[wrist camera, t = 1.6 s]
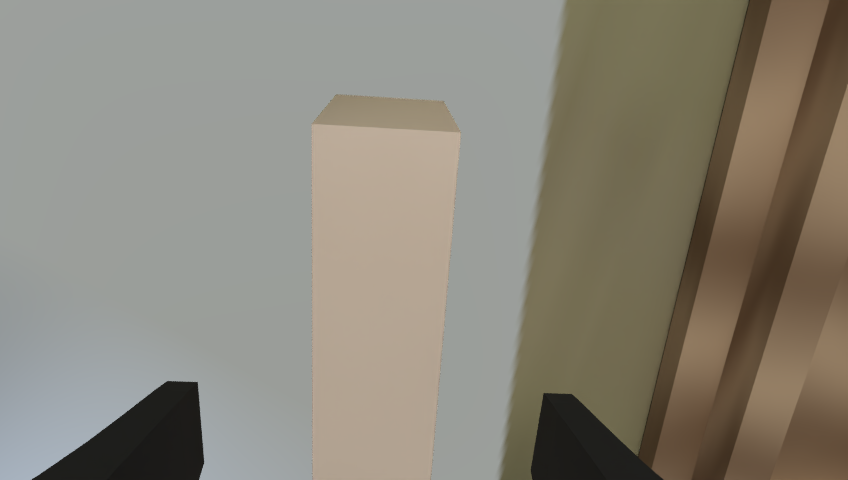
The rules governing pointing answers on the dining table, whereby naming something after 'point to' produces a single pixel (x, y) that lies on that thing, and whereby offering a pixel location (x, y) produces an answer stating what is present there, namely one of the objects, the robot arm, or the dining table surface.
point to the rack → (766, 268)
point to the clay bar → (379, 282)
